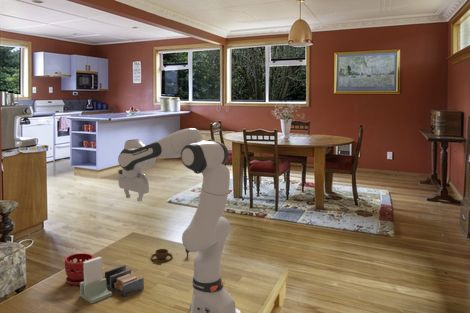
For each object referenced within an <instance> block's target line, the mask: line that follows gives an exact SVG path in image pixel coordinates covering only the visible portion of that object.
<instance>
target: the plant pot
mask: <svg viewBox="0 0 470 313" xmlns="http://www.w3.org/2000/svg"><path fill="white" fill-rule="evenodd" d="M94 258H95V257H94V255H93V254H90V253H86V252H85V253H84V252H81V253H79V252H78V253H73V254H69V255H67V256H66V257H65V258H64V269H65V274H66V279H65V281H66V283H68V284H69V285H75V286H80V283H81V282H84V268H83V262H85V261H88V260H91V259H94ZM75 259H76V260H77V261H75V262H74V260H75Z"/></svg>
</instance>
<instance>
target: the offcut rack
mask: <svg viewBox="0 0 470 313" xmlns="http://www.w3.org/2000/svg"><path fill="white" fill-rule="evenodd" d="M127 274H131V275H132V270H131V269H130V268H129V269H127V265H126V264H122V265H120V266H117V267H114V268H111V269H108V270H106V271H104V278H106V287H107V290H109V291H111V292H114V293H116V294H118V295H119V296H121V297H123V298H126V297H127V296H130V295H132V294H134V293H137V292H139V291H142V290H144V289H145V287H144V284H145V281H144V280H145V279H144V277H143V276H141V277H139V278H138V277H137V279H136V280H134V281H131V282H129V283H126V284H124V285H122V291H121V290H119V289H117V288H115V287H114V283H116V282H117V278H119V277H122V276H125V275H127Z"/></svg>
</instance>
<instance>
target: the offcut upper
mask: <svg viewBox="0 0 470 313" xmlns="http://www.w3.org/2000/svg"><path fill="white" fill-rule="evenodd" d="M136 279H138V277H137V276H135V275H134V274H133V275H132V273H131V274H127V275H125V276H122V277H119V278H117V283H118V284H120V285H124V284H126V283H129V282H131V281H134V280H136Z"/></svg>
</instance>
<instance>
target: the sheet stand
mask: <svg viewBox="0 0 470 313" xmlns="http://www.w3.org/2000/svg"><path fill="white" fill-rule="evenodd" d="M112 295H113V291H112V290H110V289H108V288H107V287H106V278H105V277H104V278H103V279H102V280H99V281H96V282H94V283H91V284H88V285H86V286H85V294H84V282H81V283H80V285H79V297H80V298H82V299H83V300H85V301H87V302H89V303H90V304H94V303H96V302H99V301H102V300H104V299H107V298H109V297H111V296H112Z"/></svg>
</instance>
